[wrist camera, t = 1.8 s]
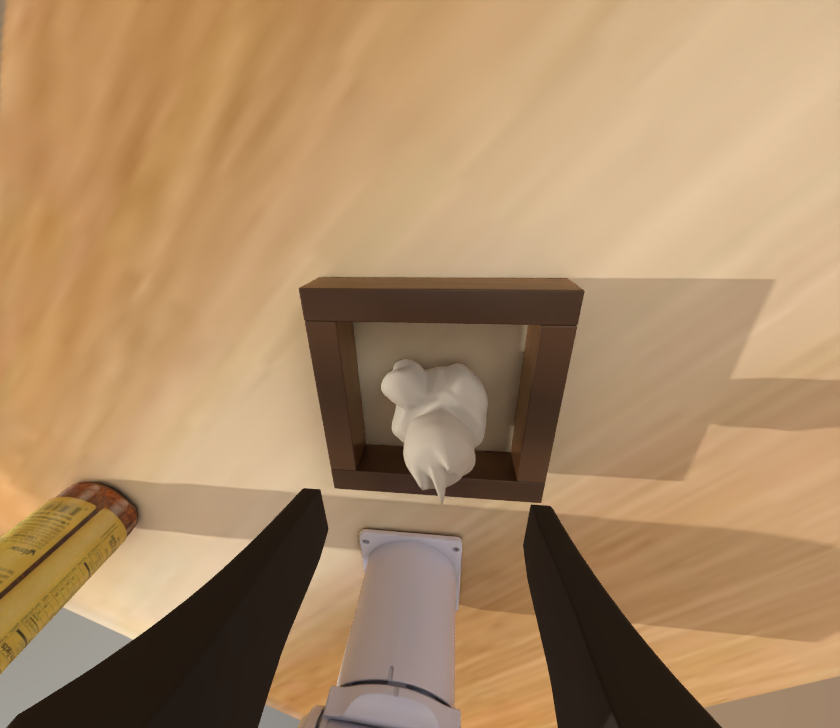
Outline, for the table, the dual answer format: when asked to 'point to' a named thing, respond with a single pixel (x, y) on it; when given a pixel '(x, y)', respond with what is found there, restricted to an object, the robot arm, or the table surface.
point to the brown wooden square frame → (442, 303)
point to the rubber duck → (437, 420)
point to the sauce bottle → (56, 558)
